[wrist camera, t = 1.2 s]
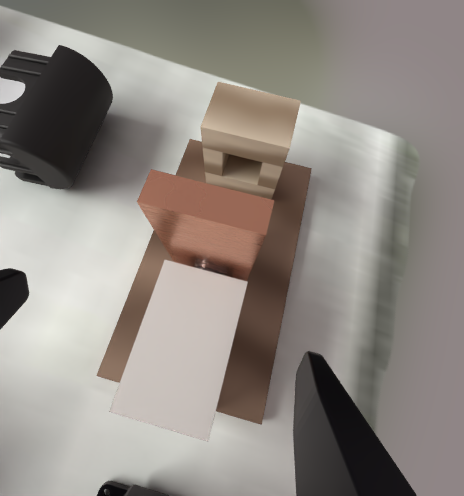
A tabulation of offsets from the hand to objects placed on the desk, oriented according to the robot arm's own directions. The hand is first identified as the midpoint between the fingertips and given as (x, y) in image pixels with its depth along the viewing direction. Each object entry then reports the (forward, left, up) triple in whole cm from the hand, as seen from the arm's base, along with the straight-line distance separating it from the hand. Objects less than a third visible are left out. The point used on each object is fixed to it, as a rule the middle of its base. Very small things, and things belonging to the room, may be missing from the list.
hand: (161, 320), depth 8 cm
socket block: (+14, 0, -14) cm, 20 cm away
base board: (+6, 0, -14) cm, 15 cm away
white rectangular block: (-1, 0, -14) cm, 14 cm away
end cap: (+13, +17, -14) cm, 26 cm away
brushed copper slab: (+3, 0, -11) cm, 11 cm away
